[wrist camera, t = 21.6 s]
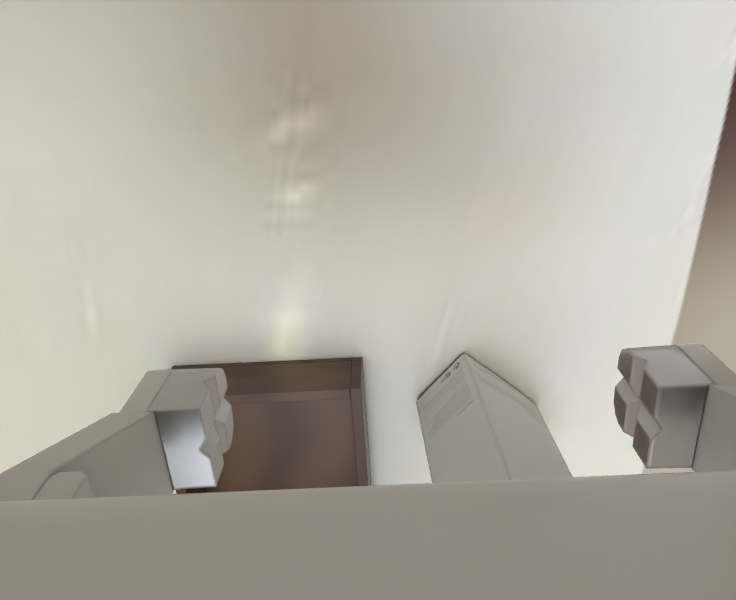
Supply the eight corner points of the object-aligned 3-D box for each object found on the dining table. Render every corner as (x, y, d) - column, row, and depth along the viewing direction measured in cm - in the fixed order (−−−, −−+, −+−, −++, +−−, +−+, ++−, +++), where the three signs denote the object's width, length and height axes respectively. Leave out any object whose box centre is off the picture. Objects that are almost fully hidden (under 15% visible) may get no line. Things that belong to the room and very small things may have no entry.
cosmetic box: (414, 399, 47) (431, 548, 33) (466, 346, 45) (507, 481, 31) (492, 453, 49) (538, 614, 35) (545, 405, 47) (615, 556, 33)
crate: (208, 529, 53) (194, 570, 49) (172, 366, 46) (153, 398, 42) (374, 523, 52) (374, 564, 48) (362, 357, 45) (361, 388, 41)
